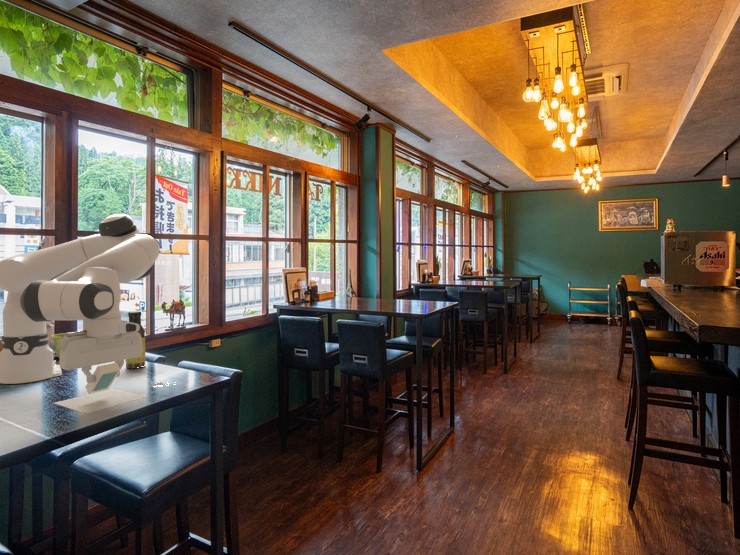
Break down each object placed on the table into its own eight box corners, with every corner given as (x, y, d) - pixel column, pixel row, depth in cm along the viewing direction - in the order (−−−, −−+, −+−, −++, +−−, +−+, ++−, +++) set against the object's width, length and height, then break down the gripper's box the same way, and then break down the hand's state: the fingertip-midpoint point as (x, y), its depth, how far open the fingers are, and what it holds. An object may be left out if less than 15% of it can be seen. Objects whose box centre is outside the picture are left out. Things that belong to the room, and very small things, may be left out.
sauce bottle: (123, 367, 163) (122, 311, 162) (143, 364, 167) (141, 309, 166) (128, 370, 158) (126, 312, 157) (147, 367, 162) (146, 311, 161)
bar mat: (53, 404, 121) (53, 402, 121) (113, 389, 135) (113, 388, 135) (85, 415, 113) (85, 413, 113) (146, 398, 127) (146, 396, 127)
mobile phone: (171, 372, 153) (178, 383, 140) (171, 375, 153) (178, 386, 140) (145, 375, 149) (151, 386, 136) (145, 378, 149) (151, 390, 136)
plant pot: (85, 353, 186) (84, 332, 185) (72, 359, 176) (71, 336, 176) (61, 354, 185) (60, 332, 185) (46, 359, 176) (45, 336, 175)
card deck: (85, 387, 123) (97, 366, 120) (104, 382, 127) (116, 362, 124) (89, 394, 122) (101, 373, 119) (108, 389, 127) (120, 369, 123)
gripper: (66, 334, 112) (67, 391, 112) (145, 324, 129) (146, 373, 130) (53, 332, 115) (54, 387, 116) (131, 322, 133) (132, 370, 133)
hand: (103, 379), depth 123 cm, fingers closed on card deck, 5 cm apart
